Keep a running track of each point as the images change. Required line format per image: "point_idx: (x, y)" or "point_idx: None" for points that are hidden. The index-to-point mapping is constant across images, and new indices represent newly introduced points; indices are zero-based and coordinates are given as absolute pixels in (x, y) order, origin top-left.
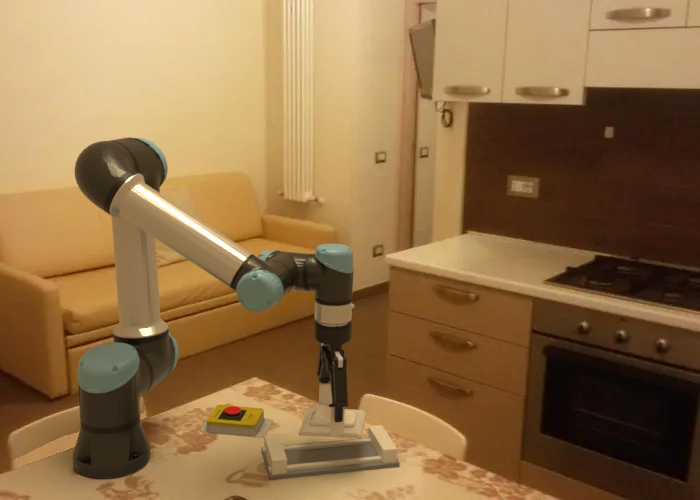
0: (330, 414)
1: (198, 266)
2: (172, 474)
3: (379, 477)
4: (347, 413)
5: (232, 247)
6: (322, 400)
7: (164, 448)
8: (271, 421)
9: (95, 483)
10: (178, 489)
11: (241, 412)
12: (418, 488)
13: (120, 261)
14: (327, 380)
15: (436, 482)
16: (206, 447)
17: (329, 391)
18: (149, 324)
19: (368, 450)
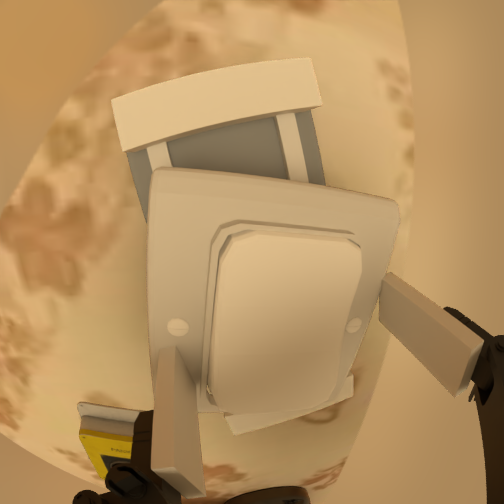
0: (427, 368)
1: None
2: (303, 466)
3: (352, 131)
4: (254, 280)
5: None
6: (194, 417)
7: (231, 488)
8: (88, 405)
9: (313, 492)
10: (342, 449)
11: (113, 460)
12: (389, 54)
13: None
14: (165, 495)
15: (361, 9)
16: (221, 465)
17: (179, 434)
18: None
19: (219, 150)
